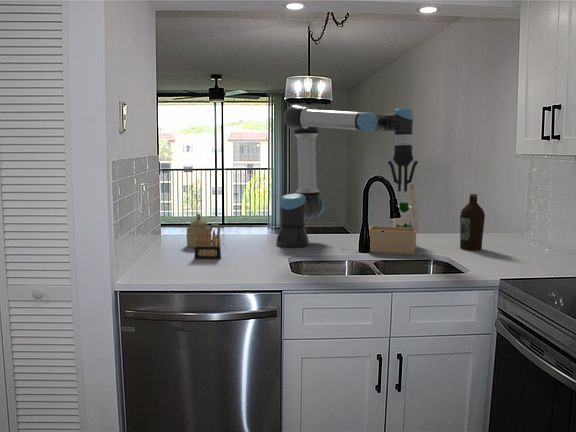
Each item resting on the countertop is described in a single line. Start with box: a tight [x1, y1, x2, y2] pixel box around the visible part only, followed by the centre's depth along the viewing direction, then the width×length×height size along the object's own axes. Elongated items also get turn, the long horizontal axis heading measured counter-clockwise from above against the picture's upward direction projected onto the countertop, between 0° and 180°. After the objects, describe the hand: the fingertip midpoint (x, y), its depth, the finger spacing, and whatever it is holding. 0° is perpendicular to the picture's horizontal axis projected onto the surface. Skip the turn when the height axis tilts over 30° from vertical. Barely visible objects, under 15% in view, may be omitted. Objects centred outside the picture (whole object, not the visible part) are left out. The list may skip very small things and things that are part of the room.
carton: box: [368, 225, 417, 256], centre depth 253 cm, size 20×13×10 cm, turn 75°
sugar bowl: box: [186, 213, 221, 249], centre depth 260 cm, size 15×11×15 cm
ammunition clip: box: [193, 229, 222, 260], centre depth 233 cm, size 11×2×12 cm, turn 90°
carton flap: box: [408, 181, 419, 232], centre depth 249 cm, size 20×14×1 cm
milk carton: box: [392, 201, 413, 228], centre depth 270 cm, size 9×9×20 cm
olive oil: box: [459, 193, 486, 252], centre depth 259 cm, size 11×11×25 cm
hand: (402, 199), depth 249 cm, fingers closed
